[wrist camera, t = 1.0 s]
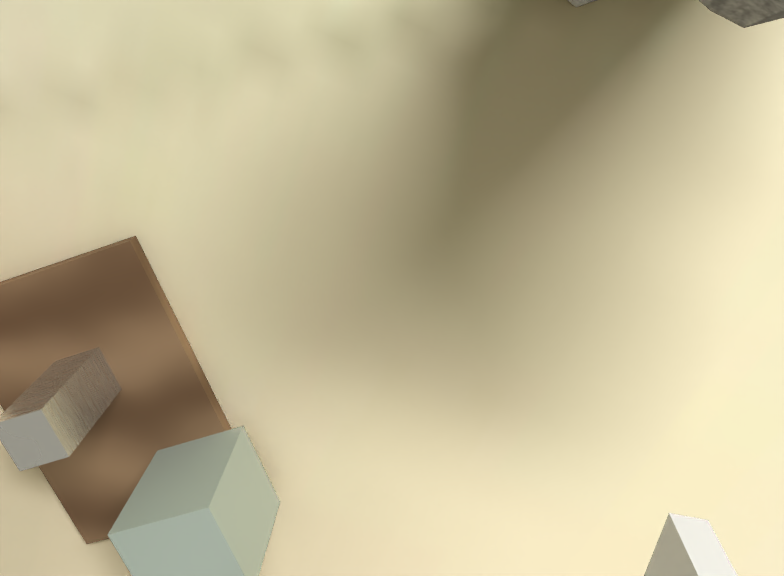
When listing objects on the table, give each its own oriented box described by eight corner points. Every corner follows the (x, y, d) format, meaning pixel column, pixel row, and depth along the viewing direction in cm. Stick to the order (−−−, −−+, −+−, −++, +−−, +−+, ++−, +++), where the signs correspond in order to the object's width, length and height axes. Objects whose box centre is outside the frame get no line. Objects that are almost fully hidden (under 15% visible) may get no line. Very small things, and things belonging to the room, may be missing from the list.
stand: (-51, 299, 39) (-60, 305, 38) (135, 235, 37) (129, 240, 36) (92, 534, 44) (86, 544, 43) (261, 489, 42) (258, 498, 42)
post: (55, 360, 39) (-10, 424, 33) (99, 346, 38) (41, 409, 33) (78, 401, 40) (19, 471, 34) (121, 388, 39) (69, 456, 33)
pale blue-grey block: (157, 450, 41) (107, 534, 34) (243, 425, 40) (208, 507, 33) (197, 523, 42) (156, 616, 36) (280, 501, 42) (253, 592, 35)
